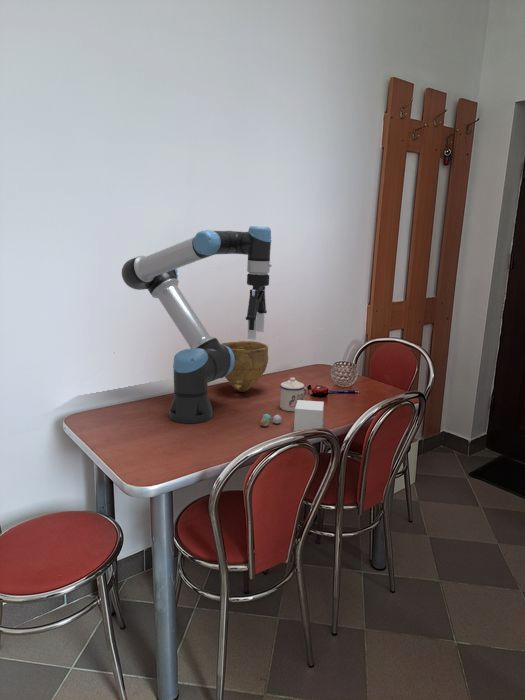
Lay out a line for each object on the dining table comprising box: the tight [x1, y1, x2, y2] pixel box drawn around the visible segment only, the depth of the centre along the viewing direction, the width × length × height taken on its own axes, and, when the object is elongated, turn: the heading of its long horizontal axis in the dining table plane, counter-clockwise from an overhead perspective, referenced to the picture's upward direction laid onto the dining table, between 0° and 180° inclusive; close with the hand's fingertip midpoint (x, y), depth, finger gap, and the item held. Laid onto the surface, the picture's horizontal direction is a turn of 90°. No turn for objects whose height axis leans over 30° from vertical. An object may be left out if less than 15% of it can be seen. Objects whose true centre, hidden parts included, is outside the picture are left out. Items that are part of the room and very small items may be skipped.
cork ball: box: [260, 417, 271, 427], centre depth 171 cm, size 3×3×3 cm
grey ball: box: [272, 414, 282, 424], centre depth 174 cm, size 3×3×3 cm
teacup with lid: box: [279, 377, 308, 412], centre depth 190 cm, size 12×9×12 cm
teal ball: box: [262, 413, 272, 422], centre depth 175 cm, size 3×3×3 cm
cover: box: [293, 399, 325, 431], centre depth 169 cm, size 9×9×8 cm
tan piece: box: [220, 340, 269, 393], centre depth 206 cm, size 21×20×20 cm
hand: (255, 335), depth 175 cm, fingers open, 13 cm apart
